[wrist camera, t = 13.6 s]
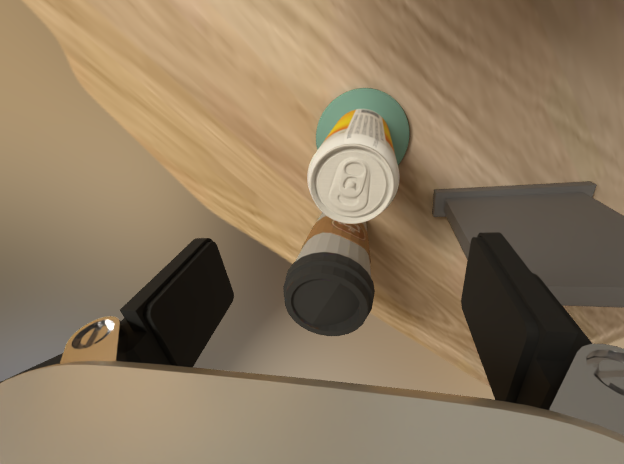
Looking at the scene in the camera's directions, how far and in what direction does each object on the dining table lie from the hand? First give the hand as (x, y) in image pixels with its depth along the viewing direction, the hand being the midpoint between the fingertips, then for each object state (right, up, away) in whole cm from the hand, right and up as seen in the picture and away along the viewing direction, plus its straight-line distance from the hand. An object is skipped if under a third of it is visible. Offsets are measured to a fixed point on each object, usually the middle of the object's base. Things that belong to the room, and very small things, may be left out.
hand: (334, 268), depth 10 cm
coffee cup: (+3, +2, +27) cm, 27 cm away
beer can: (+4, +12, +20) cm, 24 cm away
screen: (+21, +5, +21) cm, 30 cm away
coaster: (+5, +12, +21) cm, 24 cm away
